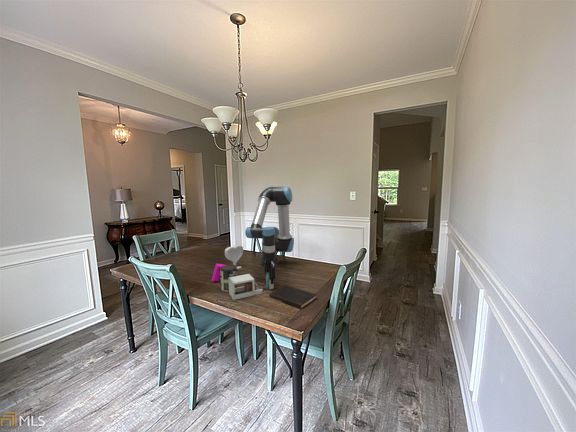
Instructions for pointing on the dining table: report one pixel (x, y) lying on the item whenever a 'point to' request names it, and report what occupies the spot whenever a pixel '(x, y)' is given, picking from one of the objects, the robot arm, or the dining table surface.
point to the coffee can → (227, 276)
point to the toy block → (217, 272)
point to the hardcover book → (293, 296)
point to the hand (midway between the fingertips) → (270, 287)
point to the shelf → (239, 280)
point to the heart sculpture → (234, 254)
